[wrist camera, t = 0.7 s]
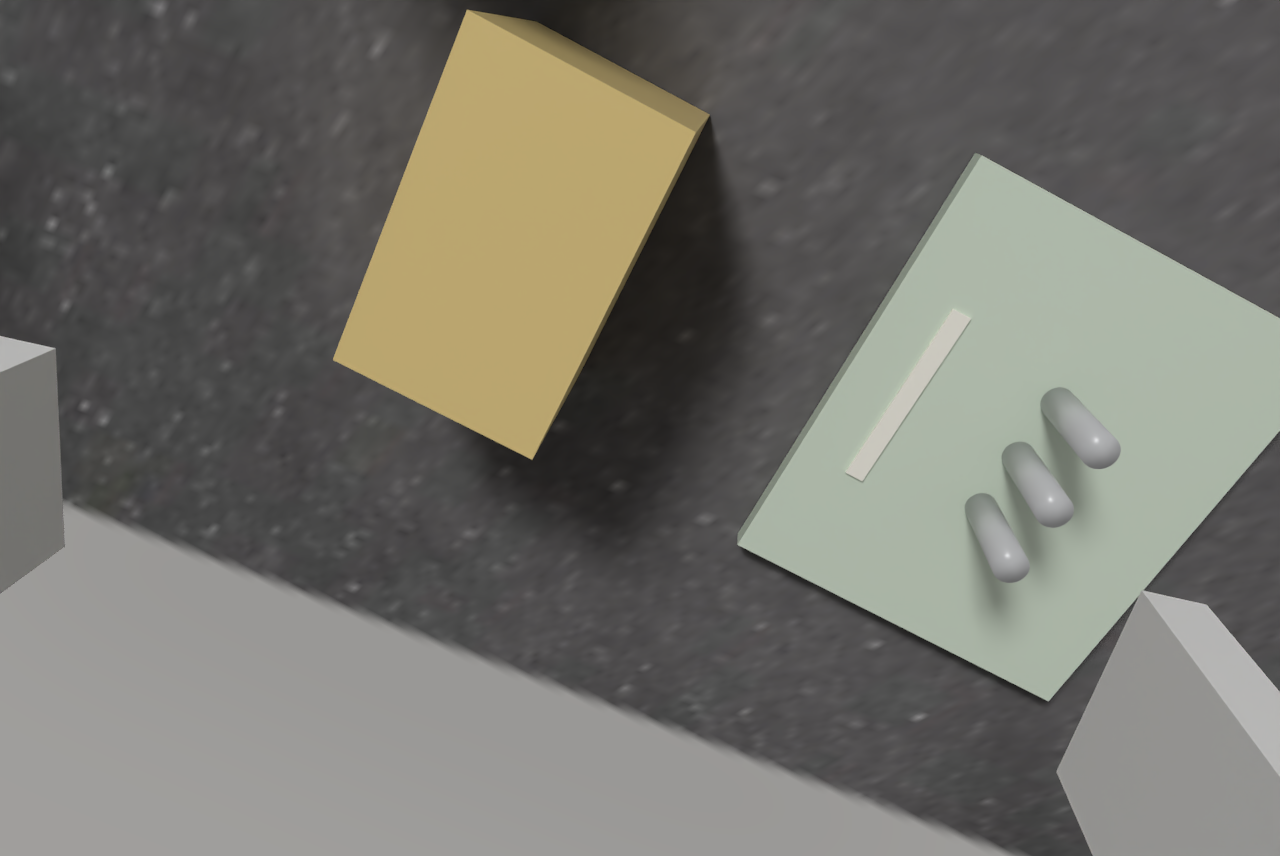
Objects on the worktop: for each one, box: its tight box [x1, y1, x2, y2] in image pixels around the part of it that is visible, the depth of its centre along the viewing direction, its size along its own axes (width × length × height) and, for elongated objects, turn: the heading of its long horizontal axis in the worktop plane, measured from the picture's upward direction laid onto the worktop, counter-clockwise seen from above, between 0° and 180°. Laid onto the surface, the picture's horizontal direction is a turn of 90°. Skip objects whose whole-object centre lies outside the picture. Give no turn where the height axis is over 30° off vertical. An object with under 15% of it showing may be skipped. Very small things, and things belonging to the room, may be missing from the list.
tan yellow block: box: [333, 10, 710, 460], centre depth 26 cm, size 6×9×7 cm, turn 153°
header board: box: [737, 153, 1280, 701], centre depth 28 cm, size 12×14×5 cm
